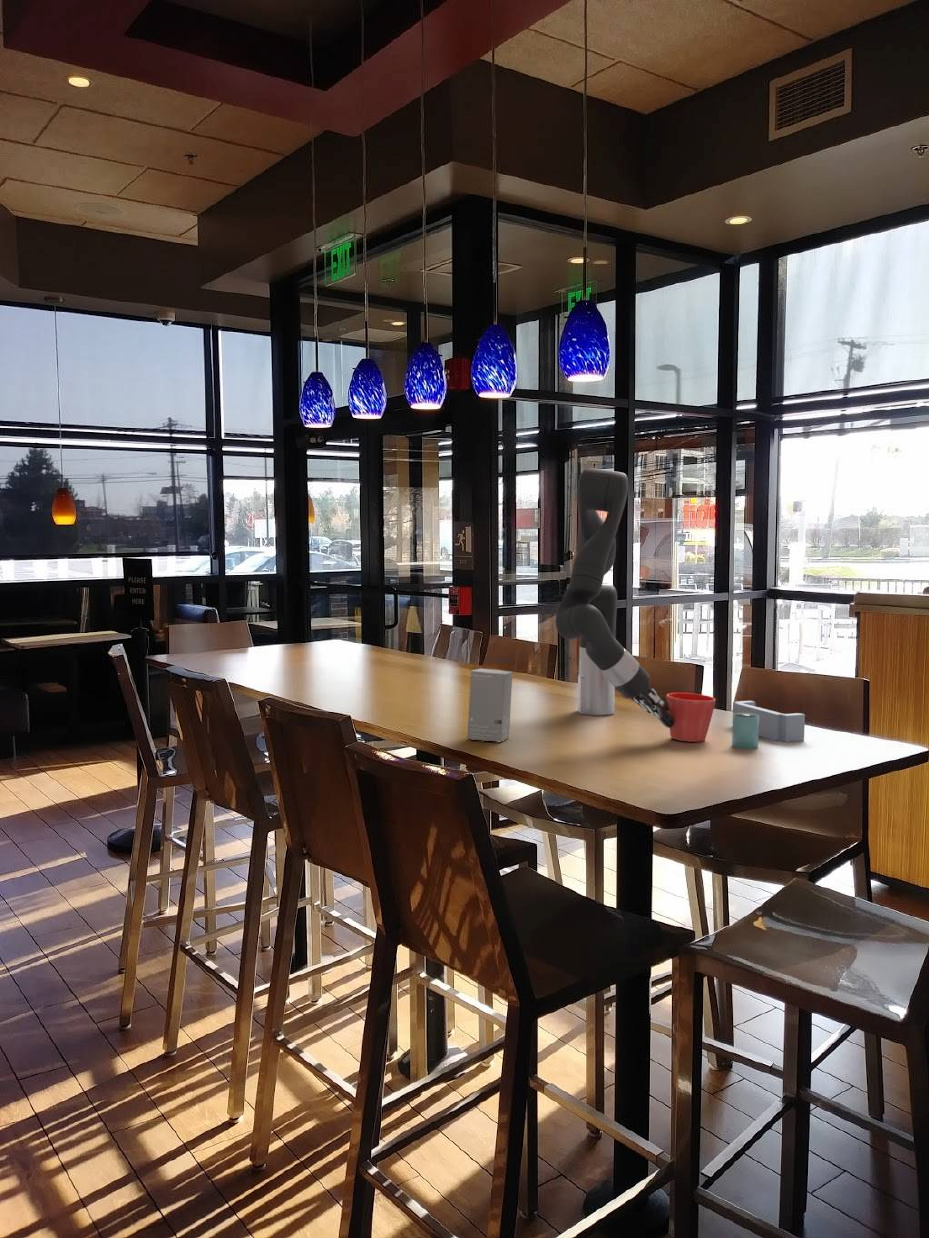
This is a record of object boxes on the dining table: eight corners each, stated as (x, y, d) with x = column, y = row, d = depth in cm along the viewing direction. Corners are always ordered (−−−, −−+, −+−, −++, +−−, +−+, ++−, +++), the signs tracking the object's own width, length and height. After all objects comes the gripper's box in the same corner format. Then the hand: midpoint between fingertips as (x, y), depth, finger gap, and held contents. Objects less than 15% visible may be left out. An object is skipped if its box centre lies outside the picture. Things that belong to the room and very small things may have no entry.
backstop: (782, 742, 226) (783, 716, 225) (729, 726, 244) (729, 701, 244) (804, 740, 228) (804, 714, 227) (749, 724, 247) (750, 700, 246)
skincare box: (467, 740, 226) (467, 671, 225) (477, 735, 233) (478, 667, 231) (502, 743, 223) (503, 673, 222) (512, 737, 230) (513, 669, 228)
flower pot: (713, 745, 222) (717, 701, 222) (663, 740, 225) (666, 697, 224) (711, 736, 233) (714, 695, 232) (663, 732, 235) (666, 691, 234)
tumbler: (735, 749, 219) (736, 716, 218) (728, 743, 224) (729, 712, 224) (761, 749, 219) (762, 716, 218) (753, 743, 224) (754, 712, 224)
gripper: (650, 664, 216) (698, 717, 221) (620, 656, 228) (666, 707, 234) (628, 689, 215) (676, 742, 220) (599, 681, 227) (645, 731, 232)
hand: (671, 724), depth 227 cm, fingers closed
